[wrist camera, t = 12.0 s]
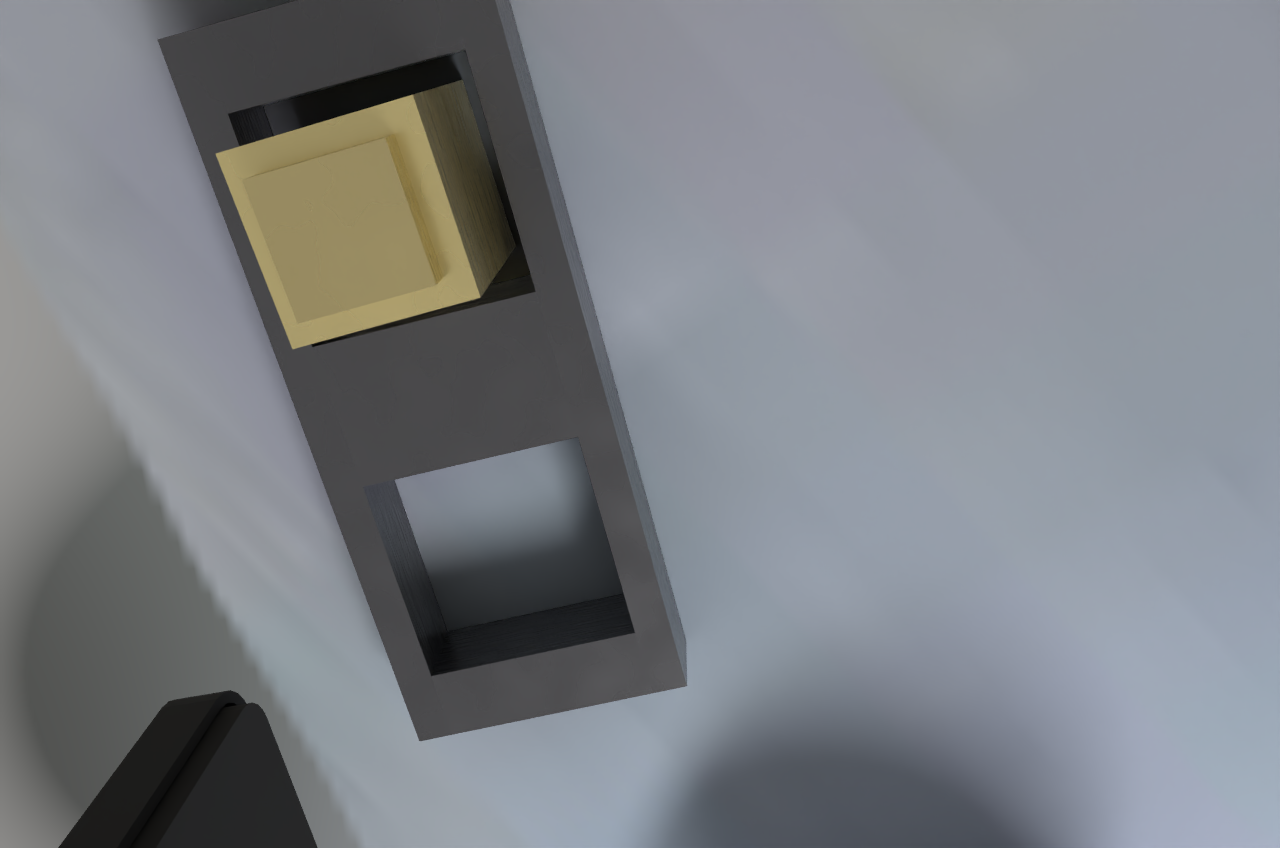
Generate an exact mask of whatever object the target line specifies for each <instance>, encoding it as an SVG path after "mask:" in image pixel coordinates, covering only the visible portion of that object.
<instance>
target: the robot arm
mask: <svg viewBox="0 0 1280 848" xmlns="http://www.w3.org/2000/svg"><path fill="white" fill-rule="evenodd" d="M59 848H317V845H316V843H315V840H314V838H313V835H312V832H311V830H310V827H309V825H308V822H307V820H306V817H305V815H304V812H303V809H302V807H301V804H300V802H299V799H298V797H297V794H296V791H295V789H294V786H293V784H292V781H291V778H290V776H289V773H288V771H287V768H286V766H285V763H284V760H283V758H282V755H281V753H280V750H279V748H278V745H277V743H276V740H275V737H274V735H273V733H272V730H271V727H270V724H269V722H268V719H267V717H266V715H265V713H264V711H263V709H261V707H260V706H259V705H258V704H255V703H248V704H246V702H245V700H244V699H243V698H242V697H241V696H240V695H239V694H238V693H236V692H233V691H231V690H230V691H224V692H219V693H212V694H207V695H200V696H194V697H188V698H182V699H176V700H172V701H169V702H168V703H167V704H166V705H165V706H164V707H162V708H161V710H160V711H159V712H158V714H157V715H156V717H155V718H154V719H153V721H152V722H151V723H150V725H149V726H148V727H147V729H146V730H145V731H144V733H143V734H142V736H141V737H140V738H139V740H138V741H137V742H136V744H135V745H134V746H133V748H132V749H131V750H130V752H129V753H128V754H127V756H126V757H125V759H124V760H123V761H122V763H121V764H120V765H119V767H118V768H117V769H116V771H115V772H114V773H113V775H112V776H111V777H110V779H109V780H108V782H107V783H106V784H105V786H104V787H103V788H102V789H101V791H100V792H99V794H98V795H97V796H96V798H95V799H94V800H93V802H92V803H91V804H90V806H89V807H88V808H87V810H86V811H85V812H84V814H83V815H82V816H81V818H80V819H79V821H78V822H77V823H76V825H75V826H74V827H73V829H72V830H71V831H70V833H69V834H68V835H67V837H66V838H65V840H64V841H63V842H62V844H61V845H60V846H59Z"/></svg>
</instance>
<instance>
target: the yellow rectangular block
mask: <svg viewBox="0 0 1280 848" xmlns="http://www.w3.org/2000/svg"><path fill="white" fill-rule="evenodd" d="M216 157H217V159H218V162H219V164H220V167H221V169H222V172H223V174H224V177H225V179H226V182H227V184H228V187H229V190H230V192H231V195H232V197H233V200H234V202H235V205H236V207H237V210H238V212H239V215H240V217H241V220H242V222H243V225H244V228H245V230H246V233H247V235H248V238H249V240H250V243H251V245H252V248H253V250H254V253H255V255H256V258H257V260H258V263H259V266H260V268H261V271H262V273H263V276H264V278H265V281H266V283H267V286H268V288H269V291H270V293H271V296H272V298H273V301H274V303H275V306H276V309H277V311H278V314H279V316H280V319H281V321H282V324H283V326H284V329H285V331H286V334H287V336H288V339H289V341H290V344H291V347H292V349H295V348H299V347H303V346H306V345H310V344H314V343H317V342H321V341H324V340H328V339H332V338H335V337H339V336H343V335H346V334H350V333H354V332H357V331H361V330H364V329H368V328H372V327H375V326H379V325H383V324H386V323H390V322H394V321H397V320H401V319H404V318H408V317H412V316H415V315H419V314H423V313H426V312H430V311H434V310H437V309H441V308H444V307H448V306H452V305H455V304H459V303H463V302H466V301H470V300H473V299H477V298H481V296H482V295H483V293H484V292H485V290H486V289H487V288H488V286H489V285H490V283H491V282H492V280H493V279H494V277H495V276H496V275H497V273H498V272H499V270H500V269H501V267H502V266H503V264H504V263H505V262H506V260H507V259H508V257H509V256H510V254H511V253H512V251H513V250H514V248H515V247H516V246H515V242H514V239H513V236H512V233H511V230H510V227H509V224H508V220H507V217H506V214H505V211H504V208H503V205H502V202H501V199H500V195H499V192H498V189H497V186H496V183H495V180H494V177H493V174H492V170H491V167H490V164H489V161H488V158H487V155H486V152H485V148H484V145H483V142H482V139H481V136H480V133H479V130H478V127H477V123H476V120H475V117H474V114H473V111H472V108H471V105H470V102H469V98H468V95H467V92H466V89H465V86H464V83H463V80H460V81H457V82H453V83H450V84H447V85H443V86H440V87H437V88H433V89H430V90H427V91H423V92H420V93H416V94H413V95H410V96H406V97H403V98H400V99H396V100H393V101H390V102H386V103H383V104H380V105H376V106H373V107H370V108H366V109H363V110H360V111H356V112H353V113H350V114H346V115H343V116H340V117H336V118H333V119H330V120H326V121H323V122H320V123H316V124H313V125H310V126H306V127H303V128H299V129H296V130H293V131H289V132H286V133H283V134H279V135H276V136H273V137H269V138H266V139H263V140H259V141H256V142H253V143H249V144H246V145H243V146H239V147H236V148H233V149H229V150H226V151H223V152H219V153H216Z"/></svg>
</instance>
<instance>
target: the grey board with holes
mask: <svg viewBox="0 0 1280 848" xmlns="http://www.w3.org/2000/svg"><path fill="white" fill-rule="evenodd" d="M158 42H159V45H160V47H161V50H162V53H163V55H164V58H165V61H166V63H167V66H168V69H169V71H170V74H171V77H172V80H173V82H174V85H175V88H176V90H177V93H178V96H179V98H180V101H181V104H182V106H183V109H184V112H185V114H186V117H187V120H188V122H189V125H190V128H191V130H192V133H193V136H194V138H195V141H196V144H197V146H198V149H199V152H200V154H201V157H202V160H203V163H204V165H205V168H206V171H207V173H208V176H209V179H210V181H211V184H212V187H213V189H214V192H215V195H216V197H217V200H218V203H219V205H220V208H221V211H222V213H223V216H224V219H225V221H226V224H227V227H228V229H229V232H230V235H231V237H232V240H233V243H234V246H235V248H236V251H237V254H238V256H239V259H240V262H241V264H242V267H243V270H244V272H245V275H246V278H247V280H248V283H249V286H250V288H251V291H252V294H253V296H254V299H255V302H256V304H257V307H258V310H259V312H260V315H261V318H262V320H263V323H264V326H265V329H266V331H267V334H268V337H269V339H270V342H271V345H272V347H273V350H274V353H275V355H276V358H277V361H278V363H279V366H280V369H281V371H282V374H283V377H284V379H285V382H286V385H287V387H288V390H289V393H290V395H291V398H292V401H293V403H294V406H295V409H296V411H297V414H298V417H299V420H300V422H301V425H302V428H303V430H304V433H305V436H306V438H307V441H308V444H309V446H310V449H311V452H312V454H313V457H314V460H315V462H316V465H317V468H318V470H319V473H320V476H321V478H322V481H323V484H324V486H325V489H326V492H327V494H328V497H329V500H330V503H331V505H332V508H333V511H334V513H335V516H336V519H337V521H338V524H339V527H340V529H341V532H342V535H343V537H344V540H345V543H346V545H347V548H348V551H349V553H350V556H351V559H352V561H353V564H354V567H355V569H356V572H357V575H358V577H359V580H360V583H361V586H362V588H363V591H364V594H365V596H366V599H367V602H368V604H369V607H370V610H371V612H372V615H373V618H374V620H375V623H376V626H377V628H378V631H379V634H380V636H381V639H382V642H383V644H384V647H385V650H386V652H387V655H388V658H389V660H390V663H391V666H392V669H393V671H394V674H395V677H396V679H397V682H398V685H399V687H400V690H401V693H402V695H403V698H404V701H405V703H406V706H407V709H408V711H409V714H410V717H411V719H412V722H413V725H414V727H415V730H416V733H417V735H418V738H419V741H423V740H428V739H433V738H438V737H443V736H448V735H452V734H457V733H462V732H467V731H472V730H477V729H482V728H486V727H491V726H496V725H501V724H506V723H511V722H515V721H520V720H525V719H530V718H535V717H540V716H544V715H549V714H554V713H559V712H564V711H569V710H574V709H578V708H583V707H588V706H593V705H598V704H603V703H607V702H612V701H617V700H622V699H627V698H632V697H637V696H641V695H646V694H651V693H656V692H661V691H666V690H670V689H675V688H680V687H685V686H687V664H686V639H685V635H684V632H683V628H682V624H681V621H680V617H679V614H678V610H677V606H676V603H675V599H674V595H673V592H672V588H671V585H670V581H669V577H668V574H667V570H666V566H665V563H664V559H663V556H662V552H661V548H660V545H659V541H658V537H657V534H656V530H655V527H654V523H653V519H652V516H651V512H650V508H649V505H648V501H647V498H646V494H645V490H644V487H643V483H642V479H641V476H640V472H639V469H638V465H637V461H636V458H635V454H634V450H633V447H632V443H631V440H630V436H629V432H628V429H627V425H626V421H625V418H624V414H623V411H622V407H621V403H620V400H619V396H618V392H617V389H616V385H615V382H614V378H613V374H612V371H611V367H610V363H609V360H608V356H607V352H606V349H605V345H604V342H603V338H602V334H601V331H600V327H599V323H598V320H597V316H596V313H595V309H594V305H593V302H592V298H591V294H590V291H589V287H588V284H587V280H586V276H585V273H584V269H583V265H582V262H581V258H580V255H579V251H578V247H577V244H576V240H575V236H574V233H573V229H572V226H571V222H570V218H569V215H568V211H567V207H566V204H565V200H564V197H563V193H562V189H561V186H560V182H559V178H558V175H557V171H556V168H555V164H554V160H553V157H552V153H551V149H550V146H549V142H548V139H547V135H546V131H545V128H544V124H543V120H542V117H541V113H540V110H539V106H538V102H537V99H536V95H535V91H534V88H533V84H532V80H531V77H530V73H529V70H528V66H527V62H526V59H525V55H524V51H523V48H522V44H521V41H520V37H519V33H518V30H517V26H516V22H515V19H514V15H513V12H512V8H511V4H510V1H509V0H296V1H293V2H289V3H285V4H282V5H278V6H275V7H271V8H268V9H264V10H261V11H257V12H254V13H250V14H247V15H243V16H240V17H236V18H233V19H229V20H226V21H222V22H218V23H215V24H211V25H208V26H204V27H201V28H197V29H194V30H190V31H187V32H183V33H180V34H176V35H173V36H169V37H166V38H162V39H159V40H158ZM462 51H466V54H467V57H468V61H469V64H470V68H471V71H472V74H473V78H474V81H475V85H476V88H477V92H478V95H479V98H480V102H481V105H482V109H483V112H484V116H485V119H486V123H487V126H488V129H489V133H490V136H491V140H492V143H493V147H494V150H495V153H496V157H497V160H498V164H499V167H500V171H501V174H502V177H503V181H504V184H505V188H506V191H507V195H508V198H509V201H510V205H511V208H512V212H513V215H514V219H515V222H516V225H517V229H518V232H519V236H520V239H521V243H522V246H523V250H524V253H525V256H526V260H527V263H528V267H529V270H530V274H531V275H528V276H524V277H520V278H516V279H512V280H508V281H504V282H500V283H496V284H492V285H489V286H488V288H487V289H486V290H485V292H484V293H483V295H482V296H481V298H477V299H473V300H470V301H466V302H463V303H459V304H455V305H452V306H448V307H444V308H441V309H437V310H434V311H430V312H426V313H423V314H419V315H415V316H412V317H408V318H404V319H401V320H397V321H394V322H390V323H386V324H383V325H379V326H375V327H372V328H368V329H364V330H361V331H357V332H354V333H350V334H346V335H343V336H339V337H335V338H332V339H328V340H324V341H321V342H317V343H314V344H310V345H306V346H303V347H299V348H295V349H292V347H291V344H290V341H289V339H288V336H287V334H286V331H285V329H284V326H283V324H282V321H281V319H280V316H279V314H278V311H277V309H276V306H275V303H274V301H273V298H272V296H271V293H270V291H269V288H268V286H267V283H266V281H265V278H264V276H263V273H262V271H261V268H260V266H259V263H258V260H257V258H256V255H255V253H254V250H253V248H252V245H251V243H250V240H249V238H248V235H247V233H246V230H245V228H244V225H243V222H242V220H241V217H240V215H239V212H238V210H237V207H236V205H235V202H234V200H233V197H232V195H231V192H230V190H229V187H228V184H227V182H226V179H225V177H224V174H223V172H222V169H221V167H220V164H219V162H218V159H217V157H216V153H219V152H223V151H226V150H229V149H233V148H236V147H239V146H243V145H246V144H249V143H253V142H256V141H259V140H263V139H266V138H269V137H273V134H272V131H271V128H270V126H269V123H268V120H267V117H266V114H265V111H264V108H263V106H265V105H269V104H272V103H276V102H280V101H283V100H287V99H291V98H294V97H298V96H302V95H305V94H309V93H313V92H316V91H320V90H324V89H327V88H331V87H334V86H338V85H342V84H345V83H349V82H353V81H356V80H360V79H364V78H367V77H371V76H375V75H378V74H382V73H386V72H389V71H393V70H397V69H400V68H404V67H408V66H411V65H415V64H418V63H422V62H426V61H429V60H433V59H437V58H440V57H444V56H448V55H451V54H455V53H459V52H462ZM575 437H578V438H579V442H580V445H581V449H582V452H583V455H584V459H585V462H586V466H587V469H588V473H589V476H590V479H591V483H592V486H593V490H594V493H595V497H596V500H597V503H598V507H599V510H600V514H601V517H602V521H603V524H604V528H605V531H606V534H607V538H608V541H609V545H610V548H611V552H612V555H613V558H614V562H615V565H616V569H617V572H618V576H619V579H620V582H621V586H622V589H623V593H624V594H620V595H616V596H611V597H607V598H602V599H597V600H593V601H588V602H584V603H579V604H574V605H570V606H565V607H560V608H556V609H551V610H547V611H542V612H537V613H533V614H528V615H524V616H519V617H514V618H510V619H505V620H500V621H496V622H491V623H487V624H482V625H477V626H473V627H468V628H464V629H459V630H454V631H450V632H447V629H446V626H445V623H444V621H443V618H442V615H441V612H440V609H439V606H438V603H437V601H436V598H435V595H434V592H433V589H432V586H431V584H430V581H429V578H428V575H427V572H426V569H425V566H424V564H423V561H422V558H421V555H420V552H419V549H418V547H417V544H416V541H415V538H414V535H413V532H412V529H411V527H410V524H409V521H408V518H407V515H406V512H405V510H404V507H403V504H402V501H401V498H400V495H399V493H398V490H397V487H396V484H395V481H394V480H395V479H399V478H403V477H408V476H412V475H416V474H420V473H425V472H429V471H433V470H438V469H442V468H446V467H451V466H455V465H459V464H463V463H468V462H472V461H476V460H481V459H485V458H489V457H493V456H498V455H502V454H506V453H511V452H515V451H519V450H523V449H528V448H532V447H536V446H541V445H545V444H549V443H554V442H558V441H562V440H566V439H571V438H575Z"/></svg>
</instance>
